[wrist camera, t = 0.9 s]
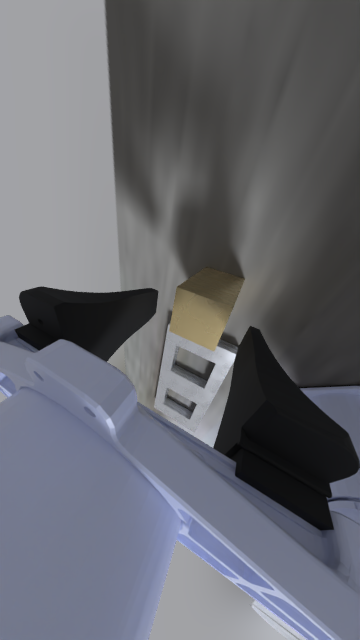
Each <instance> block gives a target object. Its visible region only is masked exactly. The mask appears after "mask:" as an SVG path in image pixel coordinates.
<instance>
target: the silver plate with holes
mask: <svg viewBox="0 0 360 640" xmlns="http://www.w3.org/2000/svg"><path fill="white" fill-rule="evenodd" d="M170 323H171V322H170ZM170 323H169V324H168V329H167V334H166V340H165V346H164V352H163V358H162V364H161V370H160V376H159V382H158V388H157V394H156V400H155V406H154V408H156V409H157V410H159V411H161V412H162V413H164V414H165V415H167V416H169V417H170V418H172V419H174V420H175V421H177V422H178V423H180V424H182V425H183V426H185V427H187V428H188V429H190V430H191V431H193V432H195V430H196V429H197V427H198V425H199V423H200V421H201V420H202V418H203V416H204V414H205V412H206V411H207V409H208V407H209V405H210V403H211V402H212V400H213V398H214V396H215V394H216V393H217V391H218V389H219V387H220V385H221V384H222V382H223V380H224V378H225V376H226V375H227V373H228V371H229V369H230V367H231V366H232V364H233V362H234V360H235V357H236V353H237V350H238V346H235V345H233V344H231V343H228V342H226V341H224V340H221V339H220V340H219V342H218V344H217V347H216V349H215V351H212V350H209V349H207V348H205V347H203V346H201V345H198V344H196V343H194V342H192V341H189V340H187V339H185V338H183V337H181V336H178V335H176V334H174V333H172V332H170V331H169V328H170ZM179 347H181V348H184V349H186V350H188V351H190V352H192V353H194V354H196V355H198V356H201V357H203V358H205V359H207V360H209V361H211V362H213V363H215V365H214V367H213V370H212V372H211V374H210V376H209V378H208V380H207V381H206V380H204V379H202V378H200V377H198V376H196V375H194V374H193V373H191V372H189V371H187V370H185V369H183V368H181V367H179V366H177V365H175V362H176V358H177V354H178V350H179ZM169 389H171V390H173V391H175V392H176V393H178V394H180V395H182V396H183V397H185V398H187V399H189V400H191V401H192V402H194V403H196V406H195V409H194V411H193V412H191V411H190V410H188V409H186V408H185V407H183V406H181V405H179V404H178V403H176V402H174V401H172V400H171V399H169V398H167V395H168V391H169Z"/></svg>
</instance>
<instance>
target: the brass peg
mask: <svg viewBox="0 0 360 640" xmlns="http://www.w3.org/2000/svg"><path fill="white" fill-rule="evenodd" d="M244 280H245V279H244V278H240V277H237V276H234V275H231V274H228V273H224V272H221V271H218V270H215V269H211V268H208V267H206V268H204V269H203V270H201V271H200V272H198V273H197V274H195V275H194V276H192V277H191V278H189V279H188V280H186V281H185V282H183V283H182V284H180V285H179V286H178V287H177V289H176V294H175V300H174V306H173V311H172V317H171V323H170V328H169V331H170V332H172V333H174V334H176V335H178V336H181V337H183V338H185V339H187V340H189V341H192V342H194V343H196V344H198V345H201V346H203V347H205V348H207V349H209V350H212V351H215V349H216V347H217V344H218V342H219V340H220V337H221V335H222V333H223V330H224V328H225V326H226V323H227V321H228V319H229V316H230V314H231V312H232V309H233V307H234V305H235V302H236V300H237V297H238V295H239V292H240V290H241V287H242V285H243V282H244Z"/></svg>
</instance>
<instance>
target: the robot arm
mask: <svg viewBox="0 0 360 640" xmlns="http://www.w3.org/2000/svg"><path fill="white" fill-rule="evenodd" d="M157 298H158V291H157V290H155V289H152V288H146V289H138V290H130V291H122V292H110V293H89V292H88V293H87V292H74V291H66V290H59V289H53V288H47V287H37V288H33V289H29V290H25V291H22V292H21V293H20V296H19V299H20V303H21V306H22V308H23V311H24V313H25V315H26V317H27V319H28V321H29V324H27V325H23V324H22V323H21V322H20V321H18V320H16V319H15V318H13V317H11V316H9V315H6V316H4V317H1V318H0V392H2V393H3V394H4V395H5V396H6V397H7V399H5V400H4V401H2V402H1V403H0V640H148V639H149V635H150V632H151V628H152V625H153V621H154V618H155V614H156V611H157V607H158V604H159V600H160V597H161V593H162V589H163V586H164V582H165V579H166V576H167V572H168V568H169V565H170V561H171V558H172V554H173V551H174V547H175V544H176V540H178V541H179V542H180V543H182V544H183V545H184V546H186V547H187V548H188V549H189V550H191V551H192V552H193V553H195V554H196V555H198V556H199V557H200V558H201V559H203V560H204V561H205V562H207V563H208V564H209V565H210V566H212V567H213V568H214V569H216V570H217V571H218V572H220V573H221V574H223V575H224V576H225V577H226V578H228V579H229V580H230V581H231V582H233V583H234V584H236V585H237V586H238V587H239V588H241V589H242V590H243V591H244V592H246V593H247V594H248V595H250V596H251V597H252V598H254V599H255V600H256V601H258V602H259V603H260V604H261V605H263V606H264V607H265V608H267V609H268V610H269V611H271V612H272V613H273V614H274V615H276V616H277V617H278V618H280V619H281V620H282V621H283V622H285V623H286V624H287V625H289V626H290V627H291V628H292V629H294V630H295V631H296V632H297V633H299V634H300V635H301V636H302V637H304V638H305V639H306V640H360V386H343V387H320V388H299V387H298V386H297V385H296V384H295V383H294V382H293V381H292V380H291V379H290V377H289V376H288V375H287V374H286V372H285V371H284V370H283V369H282V367H281V366H280V365H279V363H278V362H277V360H276V359H275V357H274V356H273V354H272V352H271V351H270V349H269V347H268V345H267V344H266V342H265V340H264V338H263V336H262V334H261V332H260V330H259V329H257V328H254V327H252V326H250V327H249V329H248V331H247V332H246V334H245V336H244V338H243V340H242V342H241V344H240V345H239V347H238V350H237V353H236V357H235V361H234V368H233V374H232V381H231V387H230V392H229V396H228V400H227V404H226V407H225V411H224V414H223V418H222V421H221V425H220V428H219V431H218V435H217V438H216V441H215V444H214V448H212V447H210V446H209V445H207V444H205V443H204V442H202V441H200V440H199V439H197V438H196V437H194V436H192V435H191V434H189V433H187V432H186V431H184V430H183V429H181V428H179V427H178V426H176V425H174V424H173V423H171V422H170V421H168V420H166V419H165V418H163V417H162V416H160V415H158V414H157V413H155V412H153V411H152V410H150V409H149V408H147V407H145V406H144V405H142V404H140V403H139V402H137V393H136V390H135V387H134V385H133V383H132V382H131V381H130V379H129V378H128V377H127V376H126V375H125V374H124V373H123V372H121V371H120V370H119V369H117V368H116V367H114V366H113V365H111V364H109V363H107V361H108V360H109V358H110V357H111V356H112V355H113V354H114V352H116V350H117V349H118V348H119V347H120V346H121V345H122V344H123V343H124V342H125V341H126V340H127V339H128V338H129V337H130V336H131V335H133V334H134V333H135V332H136V331H137V330H139V329H140V328H141V327H142V326H143V325H145V324H146V323H147V322H148V321H149V320H150V319H151V318H152V317H153V315H154V314H155V313H156V307H157Z"/></svg>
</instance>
